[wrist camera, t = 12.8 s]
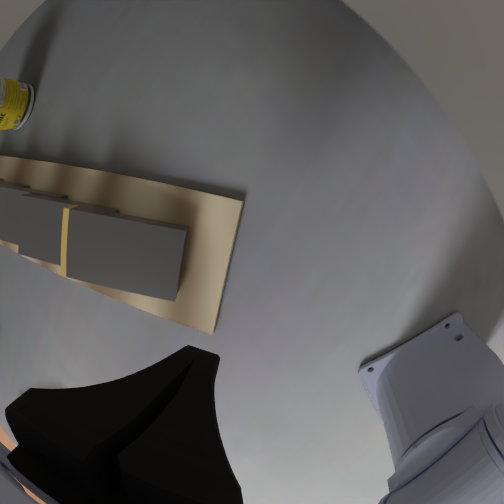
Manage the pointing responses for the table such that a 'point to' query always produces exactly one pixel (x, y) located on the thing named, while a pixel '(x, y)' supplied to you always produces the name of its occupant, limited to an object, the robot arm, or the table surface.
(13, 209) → the tile
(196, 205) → the birch board
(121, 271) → the tile
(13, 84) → the supplement bottle
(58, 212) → the tile
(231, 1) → the table surface
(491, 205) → the table surface
